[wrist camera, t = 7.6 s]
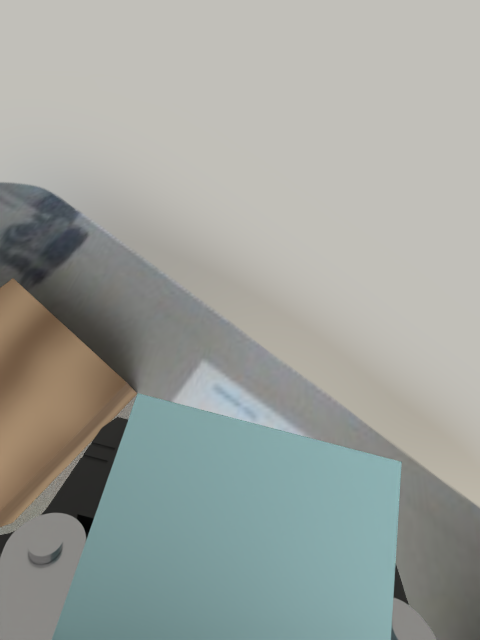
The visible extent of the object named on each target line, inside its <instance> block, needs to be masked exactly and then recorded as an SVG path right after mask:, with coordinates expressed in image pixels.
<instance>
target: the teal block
mask: <svg viewBox="0 0 480 640" xmlns="http://www.w3.org/2000/svg"><path fill="white" fill-rule="evenodd" d="M401 463H402V462H400V461H396V460H392V459H388V458H385V457H381V456H377V455H373V454H369V453H365V452H362V451H358V450H354V449H350V448H346V447H342V446H339V445H335V444H331V443H327V442H323V441H319V440H315V439H312V438H308V437H304V436H300V435H296V434H292V433H289V432H285V431H281V430H277V429H273V428H269V427H266V426H262V425H258V424H254V423H250V422H246V421H243V420H239V419H235V418H231V417H227V416H223V415H219V414H216V413H212V412H208V411H204V410H200V409H196V408H193V407H189V406H185V405H181V404H177V403H173V402H170V401H166V400H162V399H158V398H154V397H150V396H146V395H143V394H139V393H138V394H137V397H136V399H135V402H134V405H133V408H132V411H131V414H130V417H129V419H128V422H127V425H126V428H125V431H124V434H123V437H122V440H121V442H120V445H119V448H118V451H117V454H116V457H115V460H114V462H113V465H112V468H111V471H110V474H109V477H108V480H107V483H106V485H105V488H104V491H103V494H102V497H101V500H100V503H99V506H98V508H97V511H96V514H95V517H94V520H93V523H92V526H91V528H90V531H89V534H88V537H87V540H86V543H85V546H84V549H83V551H82V554H81V557H80V560H79V563H78V566H77V569H76V571H75V574H74V577H73V580H72V583H71V586H70V589H69V592H68V594H67V597H66V600H65V603H64V606H63V609H62V612H61V615H60V617H59V620H58V623H57V626H56V629H55V632H54V635H53V637H52V640H391V628H392V612H393V595H394V579H395V562H396V546H397V529H398V513H399V496H400V480H401Z"/></svg>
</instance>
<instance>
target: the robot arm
mask: <svg viewBox="0 0 480 640" xmlns="http://www.w3.org/2000/svg"><path fill="white" fill-rule="evenodd" d="M127 422H128V420H127V419H123V418H119V417H117V418H115V419H114V420H112V421H111V422H109V423H108V424H106V425H105V426H103V427H102V428H101V430H100V431H99V433H98V434H97V435H96V437H95V438H94V440H93V441H92V444H91V445H90V446H89V447H88V449H87V450H86V452H85V453H84V455H83V457H82V458H81V459H80V460H79V462H78V463H77V465H76V466H75V468H74V469H73V471H72V472H71V474H70V475H69V477H68V478H67V480H66V481H65V483H64V484H63V486H62V487H61V488H60V490H59V491H58V493H57V494H56V496H55V497H54V499H53V500H52V502H51V503H50V505H49V506H48V507H47V509H46V510H45V511H44V512H43V513H42V514H41V515H40V516H37V517H35V518H33V519H31V520H29V521H27V522H26V523H24V524H23V525H21V526H20V527H19V528H18V529H17V530H16V531H14V532H11V533H8V534H4V535H0V640H52V637H53V635H54V632H55V629H56V626H57V623H58V620H59V617H60V615H61V612H62V609H63V606H64V603H65V600H66V597H67V594H68V592H69V589H70V586H71V583H72V580H73V577H74V574H75V571H76V569H77V566H78V563H79V560H80V557H81V554H82V551H83V549H84V546H85V543H86V540H87V537H88V534H89V531H90V528H91V526H92V523H93V520H94V517H95V514H96V511H97V508H98V506H99V503H100V500H101V497H102V494H103V491H104V488H105V485H106V483H107V480H108V477H109V474H110V471H111V468H112V465H113V462H114V460H115V457H116V454H117V451H118V448H119V445H120V442H121V440H122V437H123V434H124V431H125V428H126V425H127ZM391 640H437V639H436V637H435V635H434V633H433V632H432V630H431V628H430V627H429V625H428V624H427V623H426V621H425V620H424V619H423V618H422V617H421V615H420V614H419V613H418V612H417V611H416V610H414V609H413V608H412V607H411V606H409V604H408V601H407V598H406V595H405V592H404V589H403V585H402V582H401V579H400V576H399V572H398V569H397V566H396V563H395V579H394V595H393V612H392V628H391Z"/></svg>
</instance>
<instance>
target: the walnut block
mask: <svg viewBox="0 0 480 640" xmlns="http://www.w3.org/2000/svg"><path fill="white" fill-rule="evenodd" d="M136 395H137V393H136V392H135V391H134V390H133V389H132V388H131V387H130V385H129V384H128V383H127V382H126V381H125V380H123V379H122V378H121V377H120V376H119V375H118V374H117V373H116V372H115V371H114V370H113V369H111V368H110V367H109V366H108V365H107V364H106V363H105V362H104V361H103V360H102V359H101V358H99V357H98V356H97V355H96V354H95V353H94V352H93V351H92V350H91V349H90V348H89V347H87V346H86V345H85V344H84V343H83V342H82V341H81V340H80V339H79V338H78V337H77V336H75V335H74V334H73V333H72V332H71V331H70V330H69V329H68V328H67V327H66V326H65V325H63V324H62V323H61V322H60V321H59V320H58V319H57V318H56V317H55V316H54V315H53V314H51V313H50V312H49V311H48V310H47V309H46V308H45V307H44V306H43V305H42V304H41V303H39V302H38V301H37V300H36V299H35V298H34V297H33V296H32V295H31V294H30V293H29V292H27V291H26V290H25V289H24V288H23V287H22V286H21V285H20V284H19V283H18V282H17V281H15V280H14V279H11V280H10V281H9V282H7V283H6V284H5V285H3V286H2V287H1V288H0V527H2V526H5V525H7V524H10V523H13V522H14V521H15V520H16V519H17V518H18V517H19V516H20V515H21V513H22V512H23V511H24V510H25V509H26V508H27V507H28V506H29V505H30V504H31V503H32V502H33V501H34V500H35V499H36V498H37V497H38V496H39V495H40V494H41V493H42V492H43V491H44V490H45V489H46V488H47V487H48V486H49V485H50V484H51V482H52V481H53V480H54V479H55V478H56V477H57V476H58V475H59V474H60V473H61V472H62V471H63V470H64V469H65V468H66V467H67V466H68V465H69V464H70V463H71V462H72V461H73V460H74V459H75V458H76V457H77V456H78V455H79V454H80V452H81V451H82V450H83V449H84V448H85V447H86V446H87V445H88V444H89V443H90V442H91V441H92V440H93V439H94V438H95V437H96V435H97V434H98V433H99V431H100V430H101V428H102V427H103V426H105V425H106V424H108V423H109V422H110V421H111V420H112V419H113V418H114V417H115V416H116V415H117V414H118V413H119V412H120V411H121V410H122V409H123V408H124V407H125V406H126V405H127V404H128V403H129V402H130V401H131V400H132V399H133V398H134V397H135V396H136Z"/></svg>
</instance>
